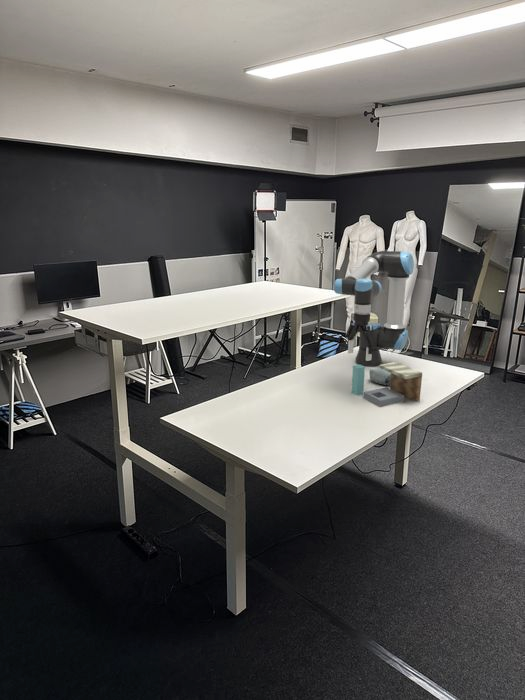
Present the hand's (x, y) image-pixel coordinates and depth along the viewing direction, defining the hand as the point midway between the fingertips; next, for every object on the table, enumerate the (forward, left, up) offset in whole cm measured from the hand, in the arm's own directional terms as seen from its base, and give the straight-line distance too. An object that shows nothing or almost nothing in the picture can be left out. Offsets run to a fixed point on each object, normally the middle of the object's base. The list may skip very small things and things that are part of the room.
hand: (359, 356), depth 225 cm
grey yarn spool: (-6, +20, -19) cm, 29 cm away
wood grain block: (+12, +15, -19) cm, 27 cm away
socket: (+12, +6, -19) cm, 23 cm away
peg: (0, 0, -19) cm, 19 cm away
